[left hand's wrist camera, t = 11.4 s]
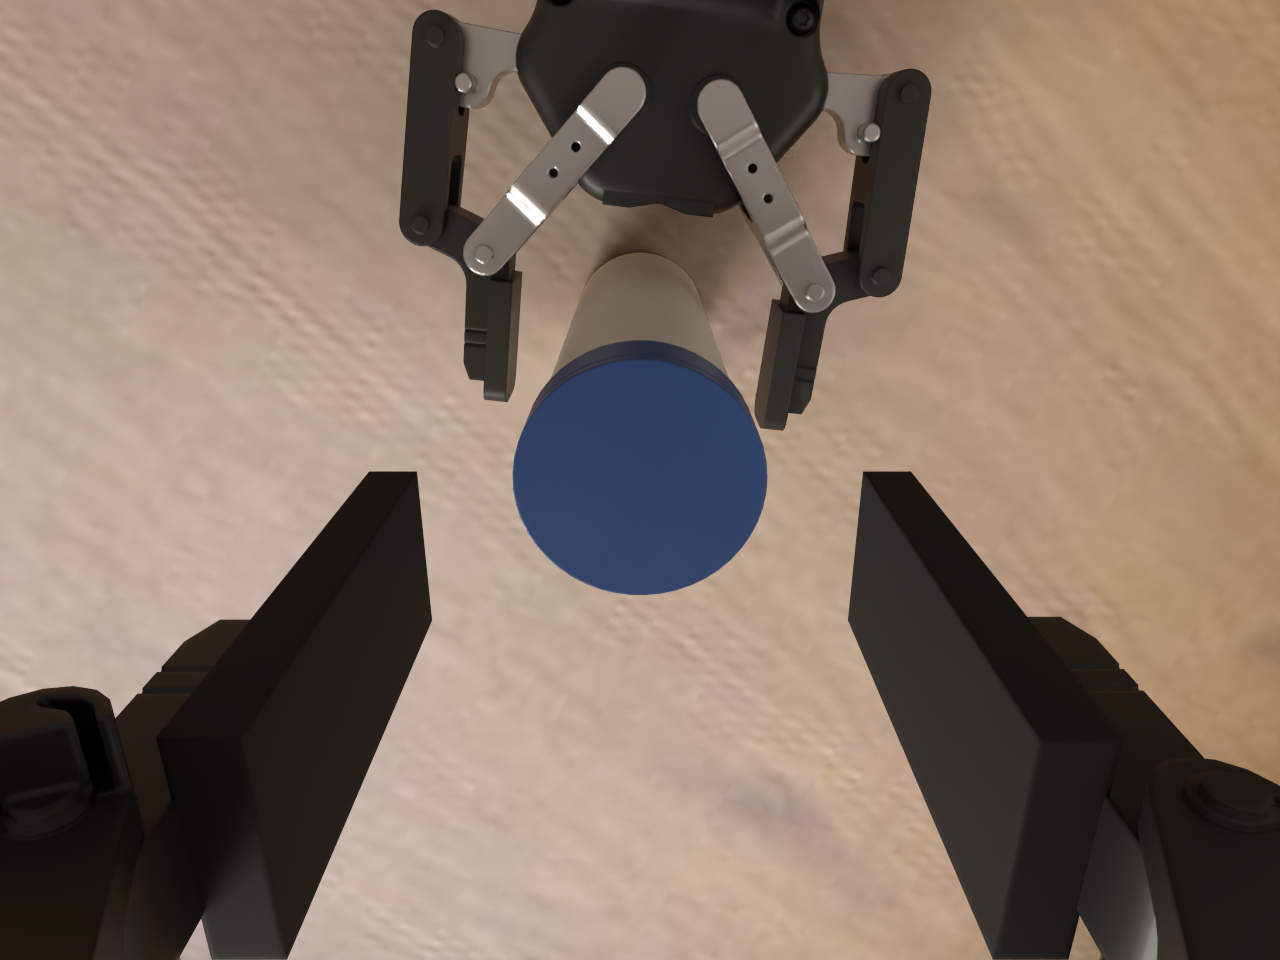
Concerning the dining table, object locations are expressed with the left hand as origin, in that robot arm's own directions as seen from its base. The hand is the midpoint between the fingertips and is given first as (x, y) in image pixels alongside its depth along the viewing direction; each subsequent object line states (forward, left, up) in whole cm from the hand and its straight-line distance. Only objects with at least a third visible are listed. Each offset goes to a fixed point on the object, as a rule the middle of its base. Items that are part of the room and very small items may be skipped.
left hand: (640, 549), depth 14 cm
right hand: (-1, +1, -14) cm, 14 cm away
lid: (0, 0, -3) cm, 3 cm away
